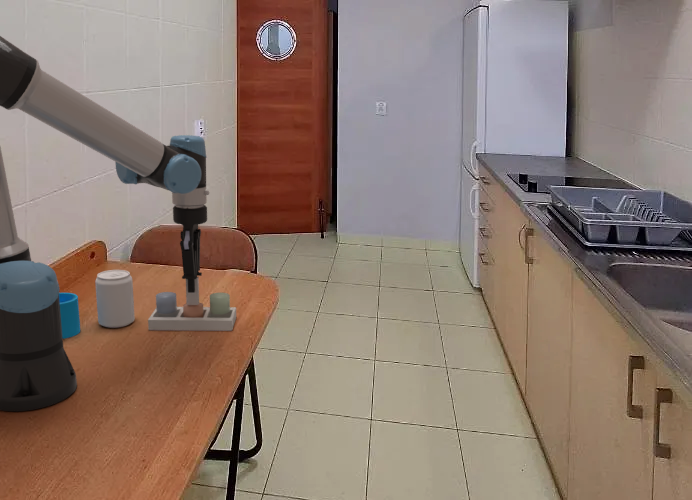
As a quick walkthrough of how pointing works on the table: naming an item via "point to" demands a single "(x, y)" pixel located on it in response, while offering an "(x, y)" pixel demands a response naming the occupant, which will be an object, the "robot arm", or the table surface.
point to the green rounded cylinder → (219, 303)
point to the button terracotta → (193, 311)
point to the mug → (69, 314)
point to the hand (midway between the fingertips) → (192, 303)
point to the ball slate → (166, 302)
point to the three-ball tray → (192, 321)
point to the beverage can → (114, 298)
